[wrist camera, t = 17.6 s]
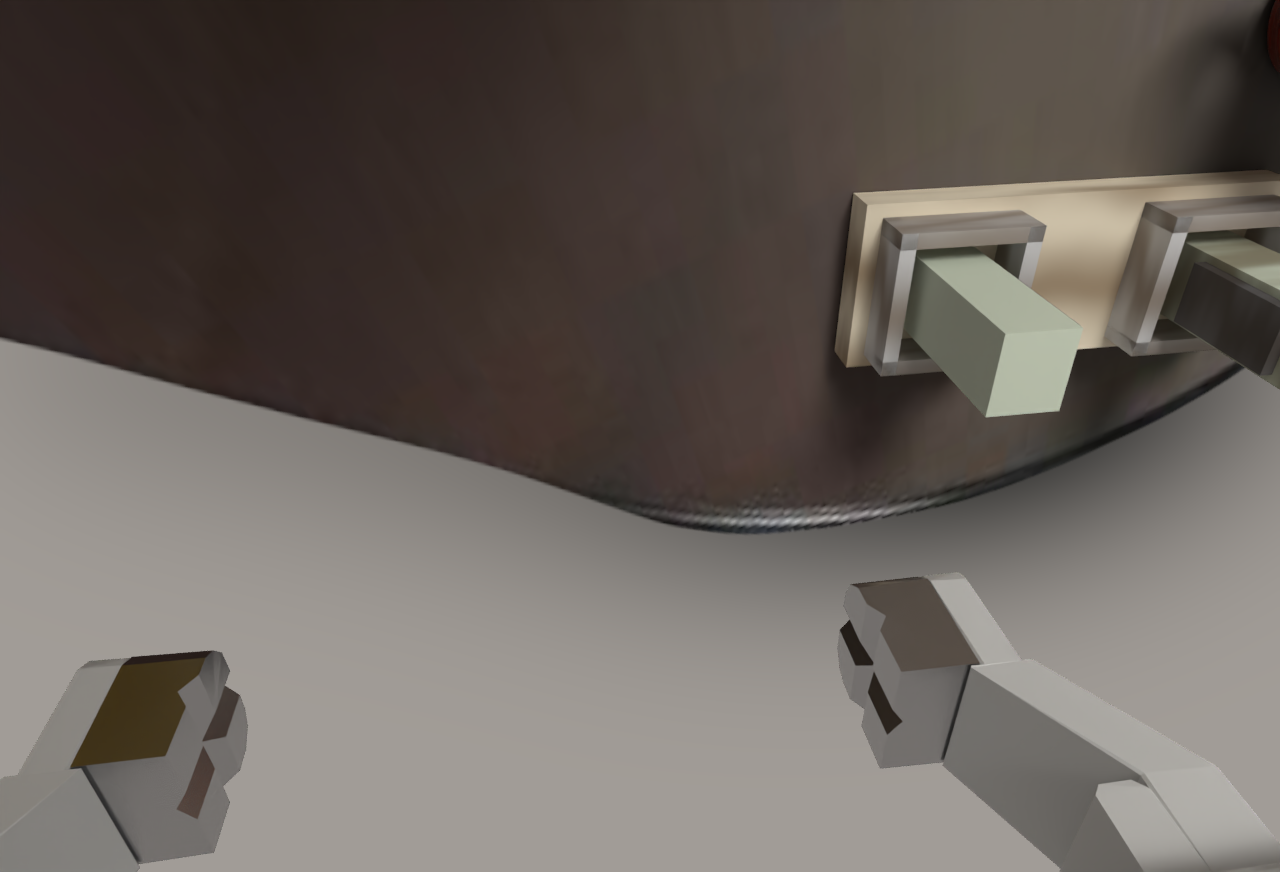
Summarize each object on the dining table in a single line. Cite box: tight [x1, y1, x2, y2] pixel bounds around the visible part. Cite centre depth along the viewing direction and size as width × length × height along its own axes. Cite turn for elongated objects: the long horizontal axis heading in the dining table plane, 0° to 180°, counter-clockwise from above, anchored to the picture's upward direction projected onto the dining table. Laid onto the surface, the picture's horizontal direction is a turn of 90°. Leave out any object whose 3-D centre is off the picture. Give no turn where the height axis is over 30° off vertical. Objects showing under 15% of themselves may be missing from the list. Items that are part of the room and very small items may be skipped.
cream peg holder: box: [835, 170, 1280, 389], centre depth 41 cm, size 9×23×12 cm, turn 91°
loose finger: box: [903, 246, 1083, 417], centre depth 40 cm, size 4×4×10 cm
